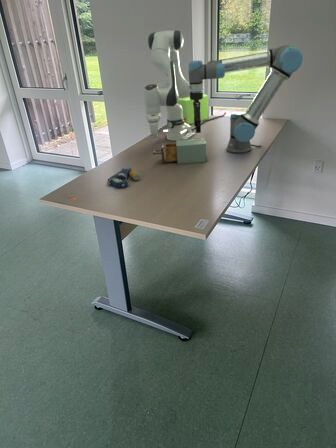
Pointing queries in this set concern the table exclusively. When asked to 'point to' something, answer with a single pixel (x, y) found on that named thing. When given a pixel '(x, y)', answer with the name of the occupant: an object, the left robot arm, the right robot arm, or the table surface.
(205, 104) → the lime green box
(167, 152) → the drawer
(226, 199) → the table surface
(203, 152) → the green drawer cabinet
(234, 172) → the table surface
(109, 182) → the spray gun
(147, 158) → the table surface
